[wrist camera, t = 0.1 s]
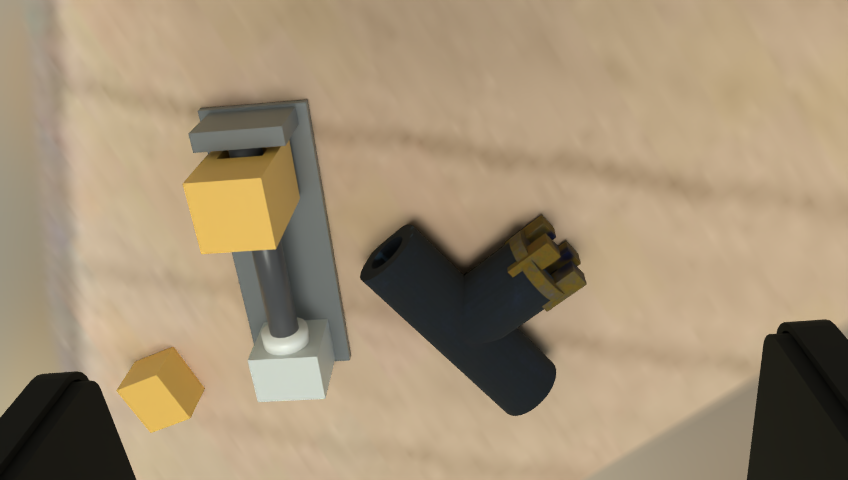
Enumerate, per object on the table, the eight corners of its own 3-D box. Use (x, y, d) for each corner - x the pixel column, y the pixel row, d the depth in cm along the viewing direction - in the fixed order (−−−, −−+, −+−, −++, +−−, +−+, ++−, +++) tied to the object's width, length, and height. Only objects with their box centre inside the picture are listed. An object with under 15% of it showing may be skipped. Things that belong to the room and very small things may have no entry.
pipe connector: (490, 186, 43) (638, 343, 47) (488, 154, 47) (623, 299, 52) (355, 294, 47) (504, 429, 51) (365, 254, 51) (501, 381, 56)
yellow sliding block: (220, 140, 46) (182, 183, 39) (288, 134, 46) (261, 177, 39) (235, 202, 48) (201, 254, 41) (300, 198, 48) (276, 249, 41)
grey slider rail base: (200, 108, 46) (172, 134, 42) (307, 99, 46) (291, 125, 41) (260, 360, 55) (243, 404, 51) (350, 355, 55) (341, 400, 50)
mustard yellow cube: (135, 360, 56) (116, 390, 53) (173, 345, 55) (156, 374, 52) (167, 401, 58) (150, 432, 55) (205, 387, 57) (190, 418, 54)
